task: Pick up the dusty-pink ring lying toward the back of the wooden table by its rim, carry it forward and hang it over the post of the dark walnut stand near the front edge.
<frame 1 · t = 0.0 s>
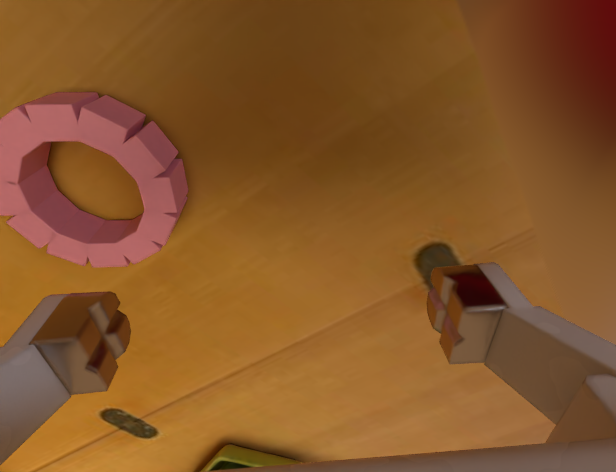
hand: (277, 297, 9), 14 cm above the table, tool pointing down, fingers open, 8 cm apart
ring: (104, 176, 22), on the table
flower pot: (246, 466, 43), on the table
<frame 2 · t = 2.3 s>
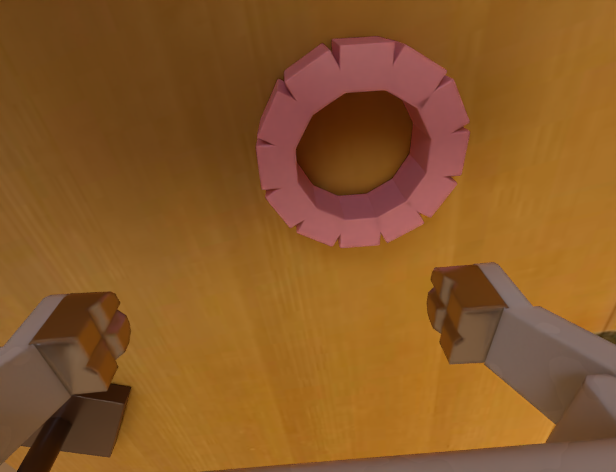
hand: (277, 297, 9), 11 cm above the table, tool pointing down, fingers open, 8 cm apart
ring: (353, 142, 19), on the table
stand: (68, 406, 30), on the table
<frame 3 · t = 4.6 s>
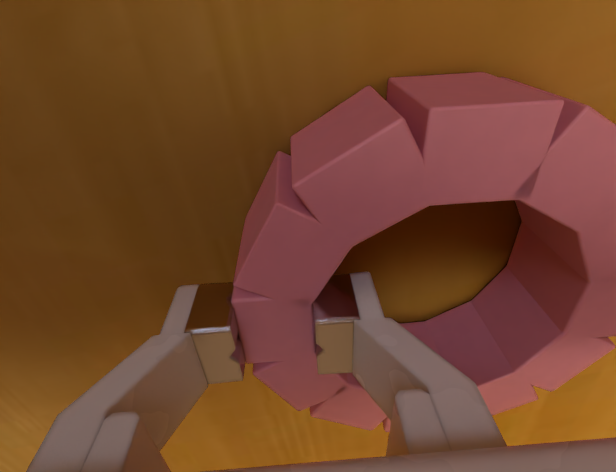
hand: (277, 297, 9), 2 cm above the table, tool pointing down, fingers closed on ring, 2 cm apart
ring: (411, 250, 11), on the table, touching gripper
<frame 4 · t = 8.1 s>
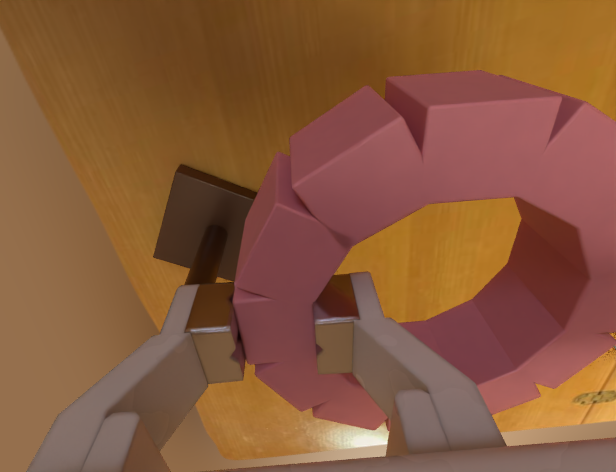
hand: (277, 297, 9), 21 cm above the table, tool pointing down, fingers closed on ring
ring: (411, 249, 11), point 19 cm above the table, touching gripper
stand: (219, 226, 32), on the table
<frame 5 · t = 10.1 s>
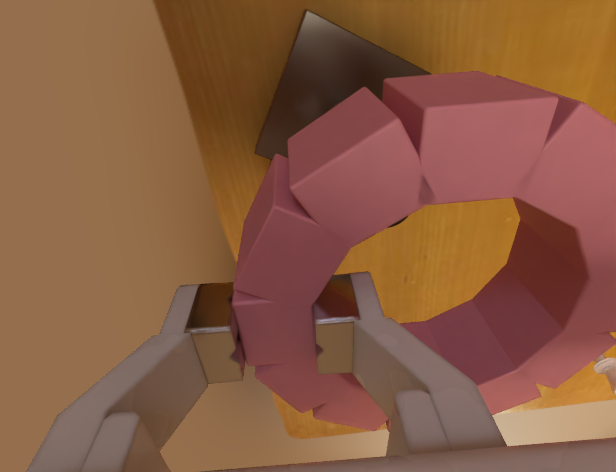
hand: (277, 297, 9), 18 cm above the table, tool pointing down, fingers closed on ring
ring: (410, 250, 11), point 16 cm above the table, touching gripper
chess piece: (564, 319, 38), on the table
stand: (339, 111, 24), on the table
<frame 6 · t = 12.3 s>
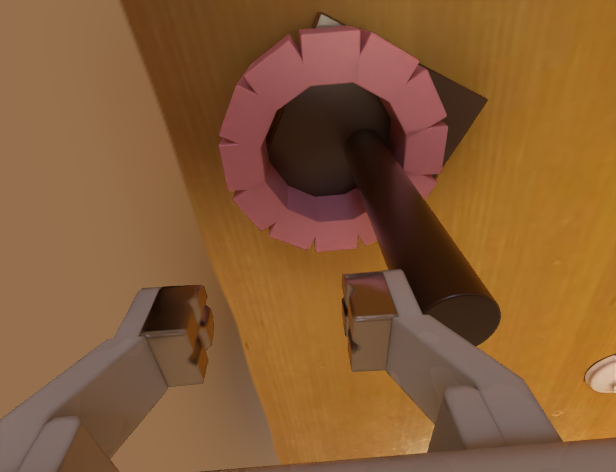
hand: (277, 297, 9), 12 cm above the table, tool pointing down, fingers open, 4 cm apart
ring: (328, 139, 18), point 1 cm above the table, touching stand
chess piece: (611, 368, 33), on the table
stand: (358, 139, 19), on the table
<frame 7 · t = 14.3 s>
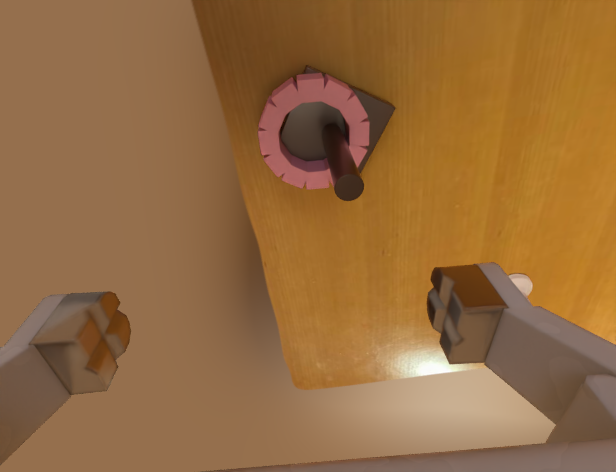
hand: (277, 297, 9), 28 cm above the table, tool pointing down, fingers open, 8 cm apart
ring: (312, 129, 34), point 1 cm above the table, touching stand
chess piece: (510, 286, 48), on the table
stand: (330, 129, 35), on the table
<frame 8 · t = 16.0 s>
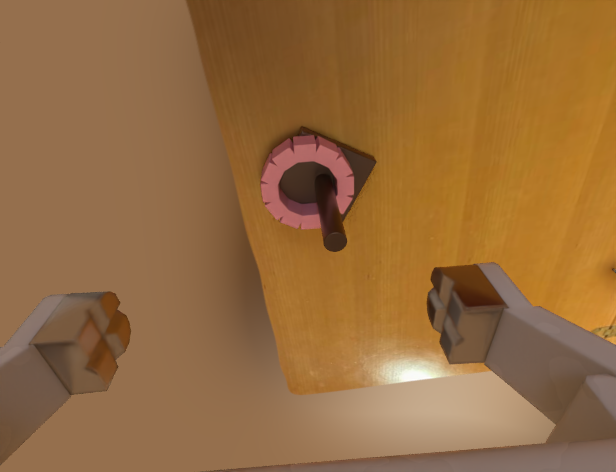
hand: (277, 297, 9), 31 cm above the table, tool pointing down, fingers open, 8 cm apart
headphones: (612, 269, 52), on the table
ring: (306, 178, 40), point 1 cm above the table, touching stand
stand: (321, 176, 41), on the table
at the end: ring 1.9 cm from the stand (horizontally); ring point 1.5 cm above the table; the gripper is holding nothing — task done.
